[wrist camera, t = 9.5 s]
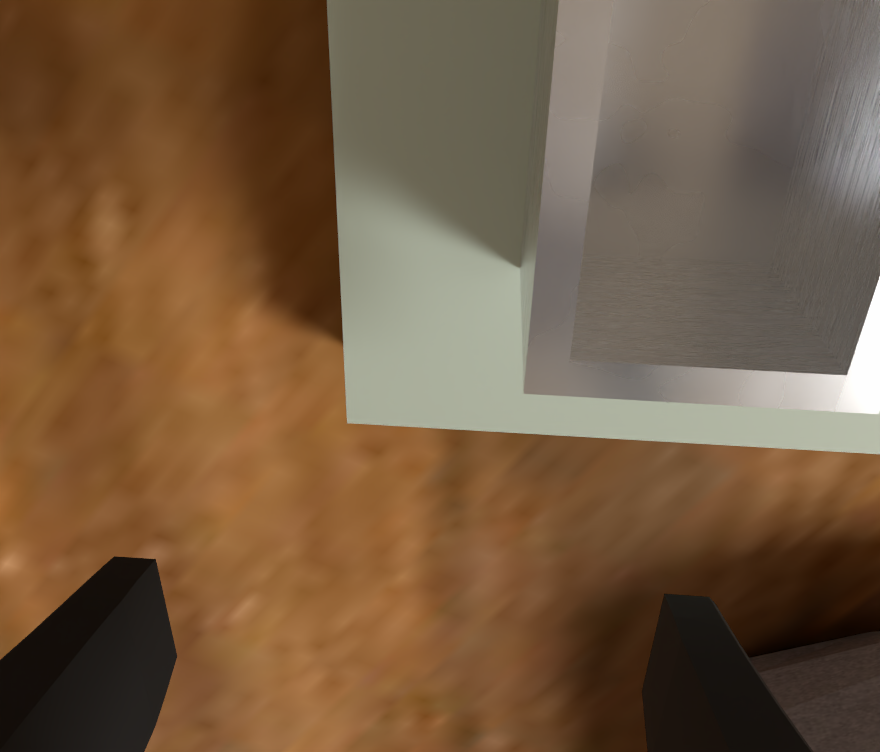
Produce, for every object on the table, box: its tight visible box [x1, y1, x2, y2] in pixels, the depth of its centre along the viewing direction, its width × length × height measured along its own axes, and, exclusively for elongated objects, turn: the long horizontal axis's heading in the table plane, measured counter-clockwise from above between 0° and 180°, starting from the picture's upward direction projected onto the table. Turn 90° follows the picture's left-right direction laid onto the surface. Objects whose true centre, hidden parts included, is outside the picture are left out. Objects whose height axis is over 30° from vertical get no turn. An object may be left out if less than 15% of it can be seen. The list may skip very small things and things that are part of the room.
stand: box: [327, 0, 880, 454], centre depth 14 cm, size 12×16×3 cm
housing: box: [520, 0, 880, 414], centre depth 11 cm, size 5×9×4 cm, turn 179°
